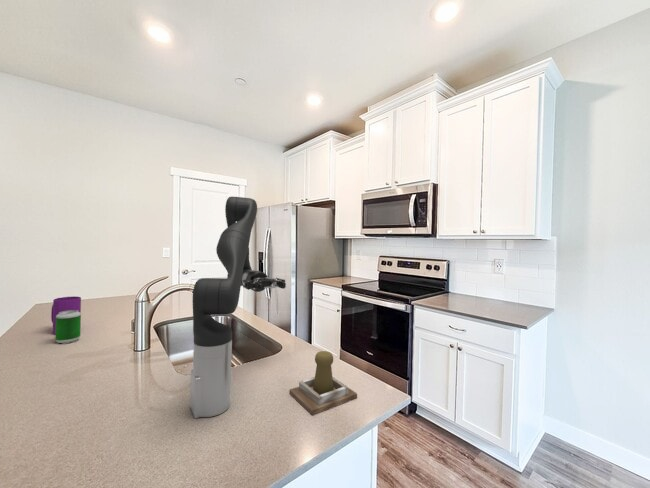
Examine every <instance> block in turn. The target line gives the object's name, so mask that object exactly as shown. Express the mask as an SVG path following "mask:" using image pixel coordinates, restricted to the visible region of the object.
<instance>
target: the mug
mask: <svg viewBox="0 0 650 488" xmlns="http://www.w3.org/2000/svg"><path fill="white" fill-rule="evenodd" d="M81 300H82V297H81V296H63V297H56V298H53V301H52V302H53V304H52V305H51V313H50V318H51V323H52V334H54V335H56V315H58V314H59V312H63V311H69V310H77V311H78V312H80V313H81V312H82V309H81V308H82V301H81ZM81 314H82V313H81Z"/></svg>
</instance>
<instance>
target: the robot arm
mask: <svg viewBox="0 0 650 488" xmlns="http://www.w3.org/2000/svg"><path fill="white" fill-rule="evenodd" d="M224 208H225V209H224V210H225V212H224V213H225V221H226V226H227V227H226V228H225V229H224V230H223V231H222V232H221V234H220V236H219V239H218V242H217V245H216V248H215V251H216V256H217V258H218V259H219V262H221V264H222V266H223V267H224V268H225V270H226V271H227V277H226V278H219V277H217V278H216V277H201V278H198V279H197V280H196V281H195V283H194V285H193V286H194V287H193V289H192V290H193V291H192V334H193V352H192V353H193V354H192V356H193V358H192V369H191V371H190V390H189V392H190V393H189V394H190V397H189V404H190V405H189V407H190V410H191V412H192V416H193V418H194V419H198V418H210V417H214V416H215V417H216V416H218V415H221V414H223V413H224V412H226V411H227V410H228V409H229V408H230V406H231V396H232V395H231V393H232V392H231V388H232V387H231V386H232V358H233V357H232V354H233V353H232V352H233V330H232V328H231V327H230V326H229V325H227V324H224V323H221V322H219V321H217V320H215V318H213V316H211V315H214V316H215V315H216V316H217V315H223V316H225V315H231V314H233V313H234V312H235V311H236V310H237V309H238V304H239V301H240V300H239V299H240V295H241V287H242V288H243V289H246V290H247V291H248V290H251V291H253V292H256V293H258V292H259V293H260V292H262V291H264V290H265V289H275V288H279V289H285V288H286V287H287V286H286V279H283V278H279V277H276V278H275V277H273V278H271V277H269V276H268V275H267V273H265V272H262V271H260V270H257V269H252V266H251V263H250V241H251V234H252V229H253V227H254V224H255V220H256V218H257V215H258V214H257V212H258V204H257V201H256V200H255V199H254V198H250V197H241V196H229V197H227V199H226V202H225V207H224Z"/></svg>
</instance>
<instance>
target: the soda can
mask: <svg viewBox="0 0 650 488" xmlns="http://www.w3.org/2000/svg"><path fill="white" fill-rule="evenodd" d="M81 316H82V313H80V312H78V311H77V310H69V311H63V312H59V314H58V315H56V334H55V342H56V343H58V344H59V343H67V344H71V343H70V342H72V343H74V342H73V341H75V342H77V341H79V339H80V338H81V325H82V324H81V321H82V317H81ZM76 340H77V341H76Z"/></svg>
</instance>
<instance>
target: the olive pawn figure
mask: <svg viewBox="0 0 650 488" xmlns="http://www.w3.org/2000/svg"><path fill="white" fill-rule="evenodd" d="M314 357H315V358H314V362H315V364H316V369H315V373H314V377H315V379H314V386H313V390H314V391H315V392H317V393H318V394H319V395H321V394H324V393H327V392H330V391H333V390H334V388H333V378H332V377H333V372H332V371H333V370H332V365H333V363H334V355H333V354H332V352H330V351H327V350H320V351H318V352H317V353H316V354H315V356H314Z"/></svg>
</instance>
